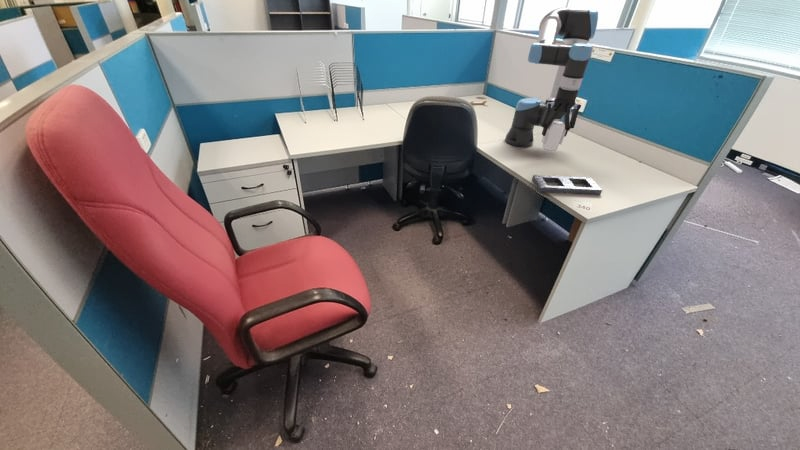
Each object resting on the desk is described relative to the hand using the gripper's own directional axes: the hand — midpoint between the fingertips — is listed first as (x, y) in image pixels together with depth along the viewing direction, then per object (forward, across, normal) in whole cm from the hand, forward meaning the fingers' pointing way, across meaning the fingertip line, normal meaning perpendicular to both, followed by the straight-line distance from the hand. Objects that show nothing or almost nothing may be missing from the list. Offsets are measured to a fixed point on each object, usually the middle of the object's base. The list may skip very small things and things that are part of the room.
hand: (551, 142), depth 145 cm
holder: (+16, +7, -12) cm, 21 cm away
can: (+3, 0, 0) cm, 3 cm away
